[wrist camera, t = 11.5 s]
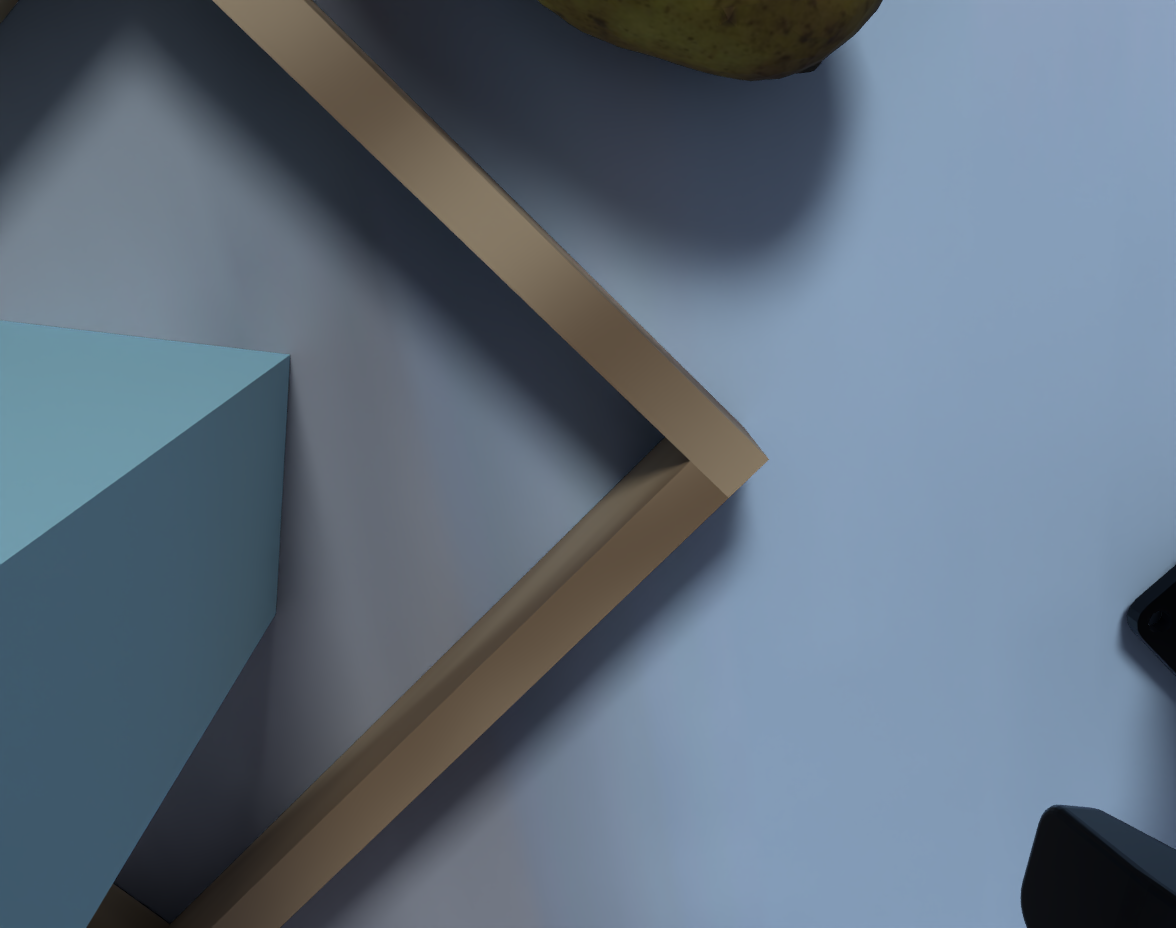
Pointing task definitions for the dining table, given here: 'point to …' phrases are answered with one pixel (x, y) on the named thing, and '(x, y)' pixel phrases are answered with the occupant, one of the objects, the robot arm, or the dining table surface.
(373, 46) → the dining table surface
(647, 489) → the light wood flat frame
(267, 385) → the milk carton
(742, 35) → the potato
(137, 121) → the dining table surface
